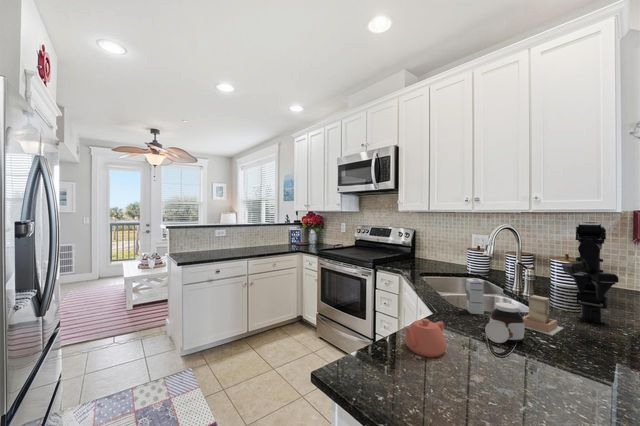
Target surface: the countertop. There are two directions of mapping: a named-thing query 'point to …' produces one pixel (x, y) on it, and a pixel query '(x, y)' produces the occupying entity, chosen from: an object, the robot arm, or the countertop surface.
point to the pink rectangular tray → (542, 326)
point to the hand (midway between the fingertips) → (589, 295)
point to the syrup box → (474, 296)
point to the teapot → (426, 338)
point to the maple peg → (539, 309)
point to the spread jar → (505, 324)
